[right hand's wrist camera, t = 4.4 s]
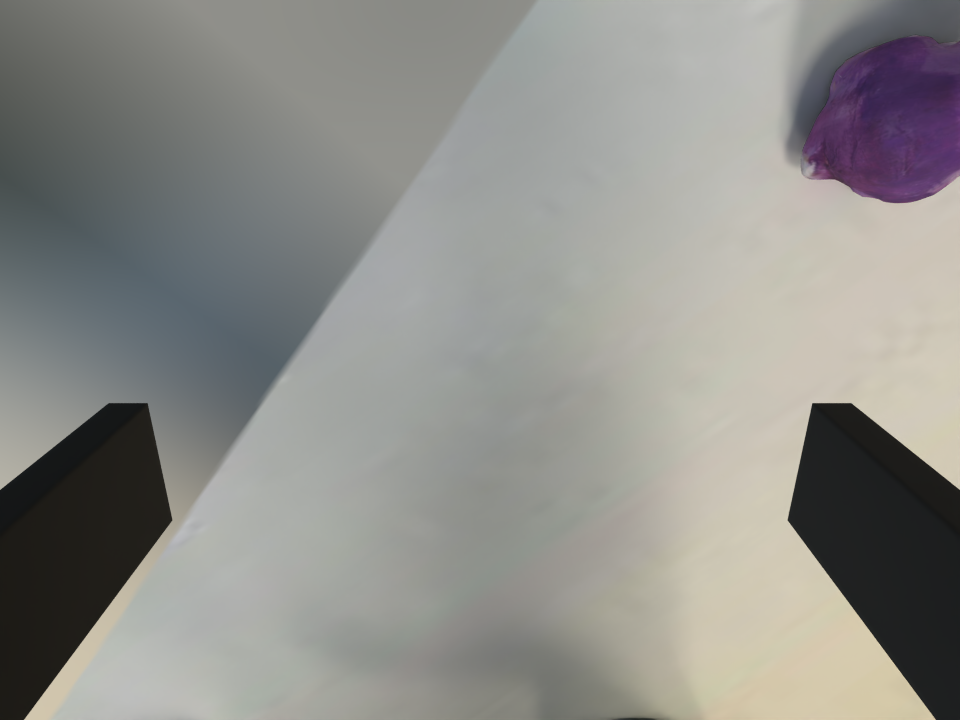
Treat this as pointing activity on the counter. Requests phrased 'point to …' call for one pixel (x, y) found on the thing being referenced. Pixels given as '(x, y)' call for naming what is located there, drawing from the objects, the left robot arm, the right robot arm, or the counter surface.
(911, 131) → the figurine
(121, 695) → the counter surface
